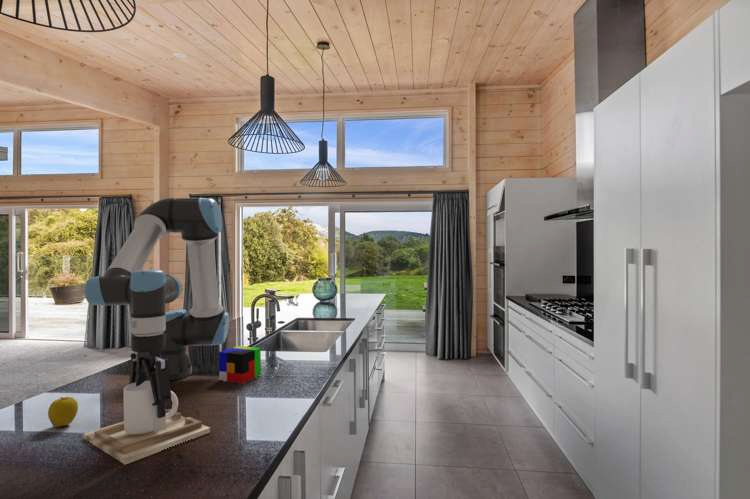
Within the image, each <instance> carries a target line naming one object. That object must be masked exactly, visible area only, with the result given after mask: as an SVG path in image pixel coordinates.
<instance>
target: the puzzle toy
mask: <svg viewBox="0 0 750 499" xmlns="http://www.w3.org/2000/svg"><path fill="white" fill-rule="evenodd" d="M261 356H262V355H261V347H253V346H252V347H251V346H242V345H236V346H234V347H231V348H228V349H223V350H220V351H219V352H218V374H219V376H218V380H223V381H222V382H227V381H231V382H230V383H234V382H240V383H239V384H242V383H243V382H245V383H247V382H249V381H248V380H250V379H252V378H254V379H256V378H255V377H257V376H259V375H261V376H262V368H261V366H262V365H261V364H262V360H261V358H262V357H261ZM259 377H260V376H259ZM257 378H258V377H257ZM252 380H253V379H252ZM246 381H247V382H246ZM250 381H251V380H250ZM243 384H244V383H243Z"/></svg>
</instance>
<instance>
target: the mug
mask: <svg viewBox="0 0 750 499" xmlns="http://www.w3.org/2000/svg"><path fill="white" fill-rule="evenodd" d="M170 391H171V402H172V406H171V408H170V409H171V411H170V412H168V413H166V419H168V418H170V417H172V416H173V415H174V414H175V413H176V411H177V412H178V409H179V408H178V407H179V399H178V396H177V394H176V393H175V392H174V391H172V390H170ZM153 403H155V401H154V397H153V392H152V388H151V384H150V380H147V381H144V382H143V383H142V384H141V385H139V386H137V387H136V383H132V384H129V383H128V384H127V385H125V386H124V387H123V421H124V430H125V432H127V433H129V434H144V433H148V432H152V431H153V406H152V404H153Z"/></svg>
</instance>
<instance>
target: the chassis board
mask: <svg viewBox="0 0 750 499" xmlns="http://www.w3.org/2000/svg"><path fill="white" fill-rule="evenodd" d="M171 409H172V408H168V409H167V408H166V413H168V412H170V411H171ZM209 433H211V427H210V426H206V425H204V424H203V422H202V421H200V420H198V419H195V418H194V417H191V416H187V417H185V416H183V415H182V413H181V412H178V410H177V411H176V413H175V414H174V415H173V416H172V417H170V418H168V419H166V429H164V430H161V431H158V432H155V433H154V432H153V431H152V432H148V433H144V434H129V433H127V432H125V430H124V420H123V421H121V422H116V423H114V424H110V425H107V426H103V427H101V428H98V429H93V430H91V431H87V432H85V433H83V440H85V441H87V442H88V441H89V442H88V443H89V444H91V443H92V444H91V445H93V446H95V447H96V448H98V449H99V450H101V451H102V452H104V453H105V454H108V455H109V456H111V457H113V458H114V459H115V460H117V461H118V460H119V461H118V462H120V463H121V464H123V465H127V464H131V463H133V462H136V461H139V460H141V459H143V458H147V457H149V456H152V455H155V454H157V453H160V452H162V450H163V451H165V450H168V449H170V448H169V447H171V448H172V446H173V447H176V446H178V445H181V444H183V442H184V443H186V442H188V440H189V441H192V440H194V439H196V438H197V439H198V438H199V437H202V436H204V435H207V434H209ZM191 439H192V440H191ZM185 441H186V442H185ZM180 443H181V444H180ZM177 444H178V445H177ZM175 445H176V446H175ZM167 448H168V449H167ZM164 449H165V450H164Z"/></svg>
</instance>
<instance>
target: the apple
mask: <svg viewBox="0 0 750 499" xmlns="http://www.w3.org/2000/svg"><path fill="white" fill-rule="evenodd" d="M78 409H79V405H78V401H77V400H76V399H75V398H73V397H71V396H65V397H62V396H61V397H59V398H57V399H55V400H54V401H53V402H51V404H50V405H49V407H48V409H47V410H48V411H47V417H48V419H49V421H50V424H51V425H52V426H54V427H55V428H56V427H57V428H58V427H63V426H64V427H65V426H68V425H70V424H71V423H72V422H73V421H74V420H75V418H76V416H77V414H78Z"/></svg>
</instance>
